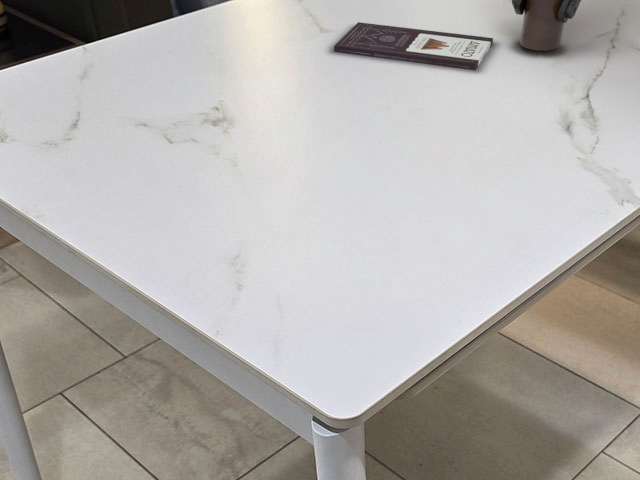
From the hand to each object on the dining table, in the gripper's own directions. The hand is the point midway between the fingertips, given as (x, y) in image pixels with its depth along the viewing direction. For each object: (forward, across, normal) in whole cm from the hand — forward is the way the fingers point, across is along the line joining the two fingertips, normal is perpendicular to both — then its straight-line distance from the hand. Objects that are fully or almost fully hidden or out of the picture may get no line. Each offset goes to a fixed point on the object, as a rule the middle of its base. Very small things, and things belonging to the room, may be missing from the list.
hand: (539, 14), depth 102 cm
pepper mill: (+2, 0, +4) cm, 4 cm away
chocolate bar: (+8, -13, -1) cm, 16 cm away
